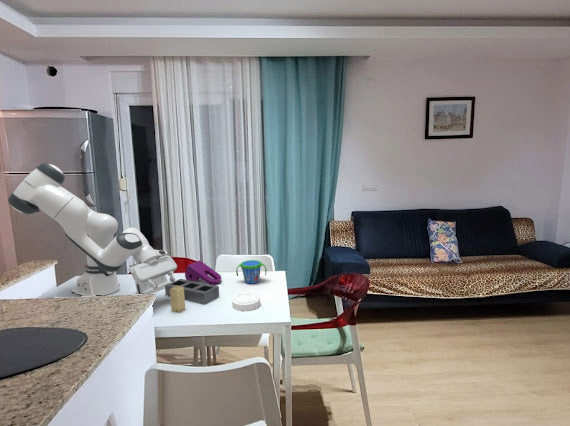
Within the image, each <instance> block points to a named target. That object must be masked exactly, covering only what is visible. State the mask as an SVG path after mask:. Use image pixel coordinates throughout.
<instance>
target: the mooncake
mask: <svg viewBox="0 0 570 426" xmlns="http://www.w3.org/2000/svg"><path fill="white" fill-rule="evenodd" d="M231 300H232V301H231V305H232V309H233V310H235V311H240V312H250V311H254V310H257V309H258V308H259V307H260V305H261V299H260V296H258V294H257V295H256V294H254V293H245V294H244V293H243V294H238V295H236V296H235V297H233V298H232V299H231Z"/></svg>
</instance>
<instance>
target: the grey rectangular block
mask: <svg viewBox="0 0 570 426" xmlns="http://www.w3.org/2000/svg"><path fill="white" fill-rule="evenodd" d="M175 286H182V287H184V297H185V301H187V300H188V301H189V302H193V303H196V304H200V305H201V304H202V305H207V304H208V303H210V302H212V301H214V300H216V299H217V298H219V297H220V286H219V285H210V284H207V283H206V282H200V281H197V282H195V281H190V280H186V278H184V279H183V278H180V279H177V280H176V279H175V281H174V282H170V283H169V284H167V285H165V288H164V291H165V292H164V293H165V296H166V295H168V296H167V297H170V288H172V287H175Z"/></svg>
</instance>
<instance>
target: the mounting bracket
mask: <svg viewBox="0 0 570 426" xmlns="http://www.w3.org/2000/svg"><path fill="white" fill-rule="evenodd" d="M184 279H185V280H190V281H195V282H199V281H200V280H201V281H203V283H205V284H210V285H215V286H218V285H219V284H220V283H221V281H222V275H221V274H220V273H218V271H216V270H214V269H213V268H211V267H210V266H208V265H207V264H206V263H204V262H203V261H202V260H197V261H195V262H193V263H190V264H187V267H186V269H185V273H184Z"/></svg>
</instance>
